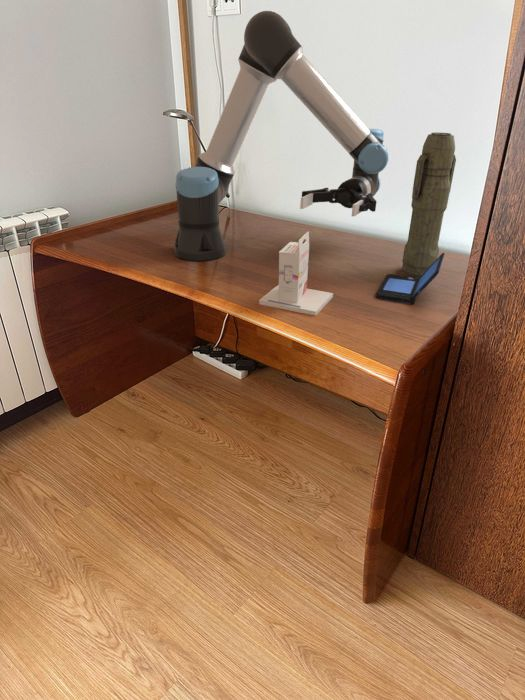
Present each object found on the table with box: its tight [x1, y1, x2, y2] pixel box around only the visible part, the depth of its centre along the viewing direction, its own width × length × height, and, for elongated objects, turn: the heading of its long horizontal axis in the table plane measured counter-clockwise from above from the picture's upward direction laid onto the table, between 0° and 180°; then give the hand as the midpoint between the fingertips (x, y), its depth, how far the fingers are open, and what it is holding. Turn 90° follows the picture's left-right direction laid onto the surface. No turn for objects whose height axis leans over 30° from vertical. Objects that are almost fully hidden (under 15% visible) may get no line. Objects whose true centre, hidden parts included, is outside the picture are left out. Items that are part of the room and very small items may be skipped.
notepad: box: [258, 284, 334, 316], centre depth 119 cm, size 14×12×1 cm
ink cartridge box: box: [278, 231, 310, 303], centre depth 116 cm, size 9×5×15 cm, turn 161°
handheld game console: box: [375, 252, 445, 305], centre depth 123 cm, size 16×13×9 cm
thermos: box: [401, 132, 457, 278], centre depth 130 cm, size 9×12×35 cm
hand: (327, 207), depth 124 cm, fingers open, 13 cm apart
